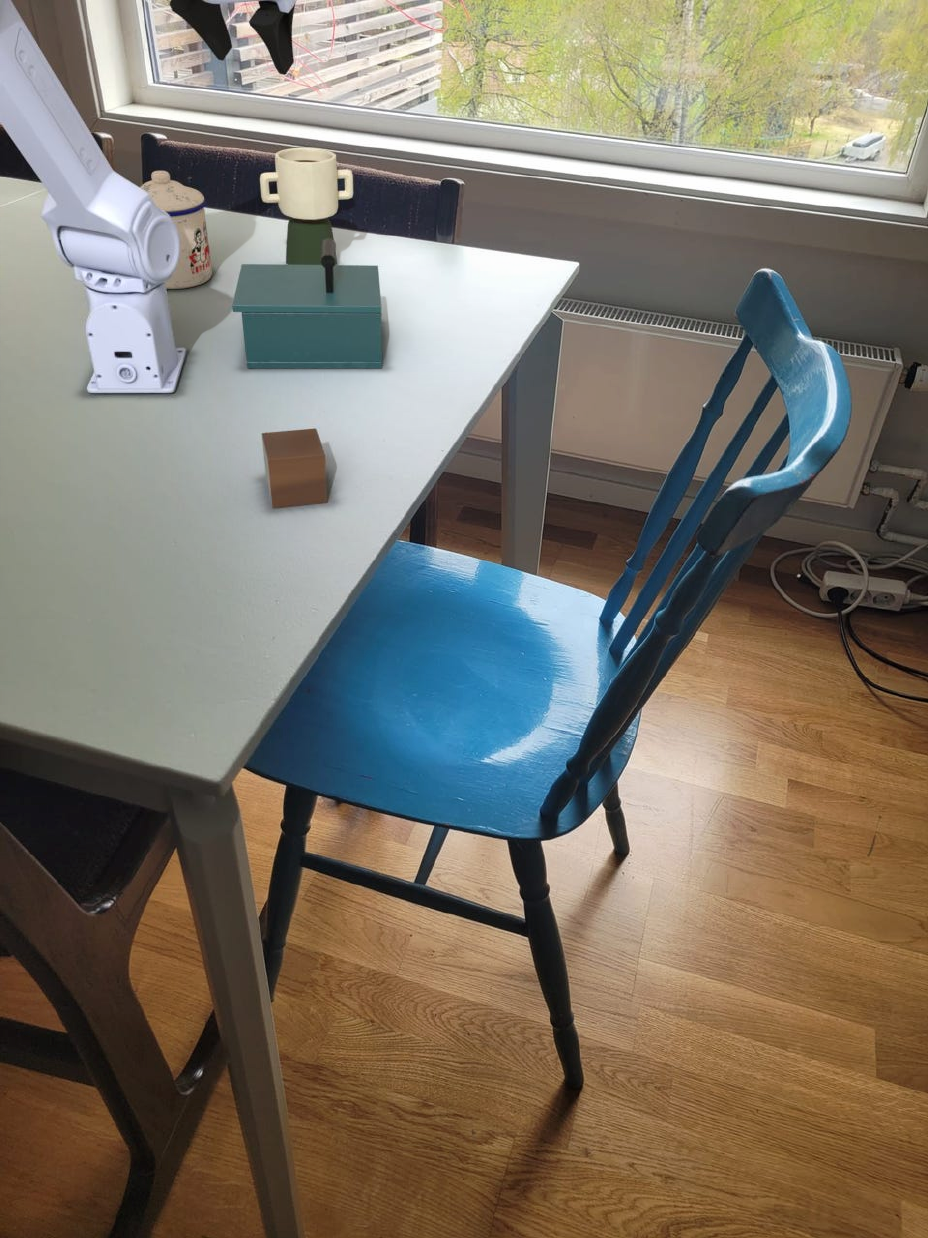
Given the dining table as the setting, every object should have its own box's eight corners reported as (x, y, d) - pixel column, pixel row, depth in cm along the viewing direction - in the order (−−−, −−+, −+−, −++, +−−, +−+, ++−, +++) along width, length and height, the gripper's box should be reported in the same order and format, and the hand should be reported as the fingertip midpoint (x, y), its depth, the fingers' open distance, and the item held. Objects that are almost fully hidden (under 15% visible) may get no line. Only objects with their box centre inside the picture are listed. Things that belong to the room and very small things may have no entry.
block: (327, 502, 77) (325, 454, 74) (272, 508, 76) (267, 459, 73) (319, 475, 80) (316, 427, 78) (266, 480, 79) (261, 432, 77)
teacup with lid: (210, 291, 111) (197, 184, 104) (129, 290, 110) (110, 182, 103) (220, 256, 120) (208, 155, 113) (145, 255, 119) (129, 154, 112)
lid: (232, 312, 92) (227, 264, 89) (242, 270, 101) (237, 226, 98) (381, 313, 93) (380, 266, 91) (377, 271, 102) (377, 228, 99)
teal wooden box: (247, 368, 96) (241, 312, 92) (255, 323, 104) (250, 270, 101) (381, 368, 97) (381, 313, 93) (378, 324, 106) (378, 272, 102)
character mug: (348, 255, 122) (345, 145, 114) (362, 275, 117) (359, 160, 109) (262, 261, 119) (253, 148, 111) (272, 281, 114) (263, 164, 106)
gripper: (293, -92, 86) (333, 45, 99) (162, -115, 90) (216, 20, 103) (255, -39, 84) (301, 95, 97) (123, -64, 88) (183, 67, 101)
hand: (255, 60), depth 100 cm, fingers open, 7 cm apart
